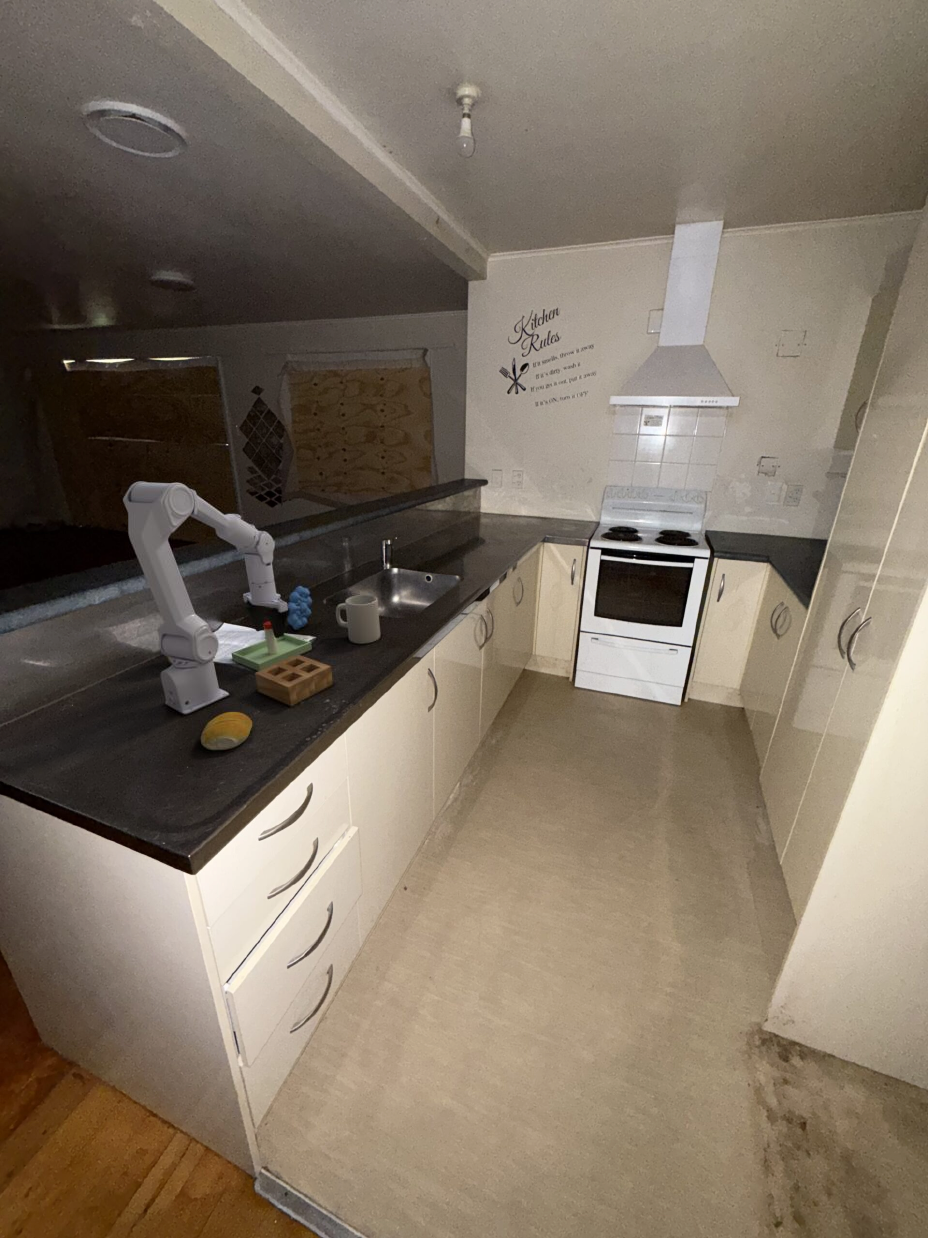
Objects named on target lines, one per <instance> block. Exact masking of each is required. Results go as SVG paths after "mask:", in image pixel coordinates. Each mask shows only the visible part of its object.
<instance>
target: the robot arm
mask: <svg viewBox="0 0 928 1238" xmlns="http://www.w3.org/2000/svg"><path fill="white" fill-rule="evenodd" d="M122 501H123V504H124V506H125V508H126V511H127V516H128V517H127V518H128V519H127V521H128V526H127V529H128V537H129V541H130V543H131V546H132V548H133V551H134V553H135V555H136V557H137V560H138V562H139V565H140V567H141V570H142V572H143V574H144V577H145V579H146V582H147V584H148V586H149V589H150V591H151V595H152V597H153V598H154V601H155V604H156V605H157V608H158V611H159V613H160V615H161V618H162V622H161V623H162V624H161V625H160V624H159V625H158V627H157V628H156V631H157V633H158V647H159V650H160V653H162V655H164V656H165V657H166V658H168V657H169V660H170V662H172V663H173V664H172V665H169V667H167V668H165V669H164V670H162V671H161V672H160V681H161V686H162V689H163V693H164V698H165V700H166V701H165V705H166V706H168V707H170V708H172V709H174V710H175V711H177V712H179V713H181V714H183V715H188V714H191V713H193V712H196V711H197V710H199V709H201V708H204V707H206V706H208V705H210V704H212V703H215V702H217V701H220V700H222V699H223V698H226V697H228V696H230V693H229V692H228V691H226V690H223V689H222V688H220V687H219V682H218V681H219V680H218V677H217V672H216V669H215V668H216V667H215V663H214V660H215V659H216V655H217V654H218V651H219V646H220V645H219V638H218V637H217V635H216V634H215V633H214V632H213V631H212V630H211V628H210V626H209V623H207V622H206V621H205V620H204V619H202V618H201V617H200V616H198V615H197V614H196V612H195V610H194V607H193V604H192V602H191V598H190V596H189V593H188V590H187V588H186V585H185V582H184V579H183V577H182V574H181V573H180V570H179V569H180V568H179V567H178V564H177V562H176V558H175V556H174V553H173V551H172V548H171V546H170V545H171V544H170V543H169V537H170V536H171V534H173V533H174V532H175V531H176V530H177V529H178V528H179V527H180V526H181V525H182V524H184V522H185V521H186V520H187V519H188V518H189V517H191V518H194V519H195V520H197V521H199V522H201V523H203V524H206V525H207V526H210V527H211V528H213V529H214V530H215V534H216V535H217V537H219V538H220V539H222V540H224V542H225V541H226V542H227V543H229V544H231V545H233V546H234V547H235V548H236V550H237V551H238V553H239V554H242V555H243V558H244V564H245V570H246V575H247V581H248V587H249V592H246V593H242V597H243V602H245V604H243V605H242V606H241V608H242V609H243V610H244V612H245V613H246V614H247V616H248V617H249V619H250V621H251V623H252V625H253V628H254V630H255V631H256V632H257V633H258V632H261V631H264V626H263V624H264V623H265V622H266V619H265V618H267V619H268V622H270V623H271V626H272V630H273V633H274V636H275V638H279V637H282V636H284V633H285V629H286V624H287V618H288V616H289V615H290V614H289V613H290V608H287V604H288V603H287V602H286V601H285V600H283V599H281V594H280V593H277V589H276V582H275V575H274V569H273V562H274V551H275V546H276V542H275V540H274V539H273V537H272V535H270V534H269V532H267V531H265V530H258V529H257V528H256V526H255V525H254V524H250V523H248V522H247V521H244V520H243V519H242V515H239V514H238V513H226V514H224V513H223V512H221V511H219V510H218V509H217V508H216V507H214V506H213V505H211V504H210V503H208V502H207V501H206V500H204V499H203V498H202V497H200V496H199V495H198V494H197V491H196V490H194V489H191V488H189V487H188V486H187V485H185V484H184V483H181V482H171V483H168V482H147V481H136V482H134V483H132V484H131V485H130V486H129V488H128V490H127V491H126V493H125V495H124V496H123V498H122ZM266 607H267V608H270V609H271V610H269V611H266ZM265 616H266V617H265Z"/></svg>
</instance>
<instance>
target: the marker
mask: <svg viewBox="0 0 928 1238" xmlns="http://www.w3.org/2000/svg"><path fill="white" fill-rule="evenodd" d="M263 626H264V630H263V631H264V636H265V640H266V643H267V649H268V654H270V655H273V654H277V653H278V647H277V640H276V638H275V636H274V633H273V630H272V626H271V623H270V621H265V623H264V624H263Z"/></svg>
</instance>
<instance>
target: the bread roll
mask: <svg viewBox="0 0 928 1238" xmlns="http://www.w3.org/2000/svg"><path fill="white" fill-rule="evenodd" d="M252 728H253V721H252V720H251V718H250V717H249V716H248V715H246V714H245V713H242V712H239V711H229V712H224V713H221V714H219V715H217V716H215V717H214V718H212V720H209V721H208V723H207V724H206V725H205V727H204V728H203V731H202V733H201V736H200V742H201V745H202V746H203V748H205V749H206V750H211V751H224V750H230V749H233V748H237V747H238V746H239V745H242V743H244V742H246V740H247V739H248V737H249V735H250V733H251V730H252Z"/></svg>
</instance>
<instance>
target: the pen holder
mask: <svg viewBox="0 0 928 1238" xmlns="http://www.w3.org/2000/svg"><path fill="white" fill-rule="evenodd" d="M254 676H255V682H256V687H257V692H259V693H261V694H263V695H265V696H267V697H270V698H272V699H274V700H276V701H278V702H280V703H282V704H285V705H287V706H289V707H293V706H295V705H297V704H299V703H300V702H302V701H304V700H306V699H308V698H310V697H312V696H313V695H316V694H317V693H319V692H321V691H323V690H325V689H327V688H329V687H330V686H333V685H334V680H333V672H332V666H331V665H329V664H325V663H323V662H320V661H317V660H315V659H311V658H309V657H306V656H303V655H302V654H300V655H295V656H293V657H291V658H288V659H286V660H284V661H281V662H279V663H277V664H275V665H272V666H270V667H268V668H265V669H263V670H261V671H256V672H255V673H254Z"/></svg>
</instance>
